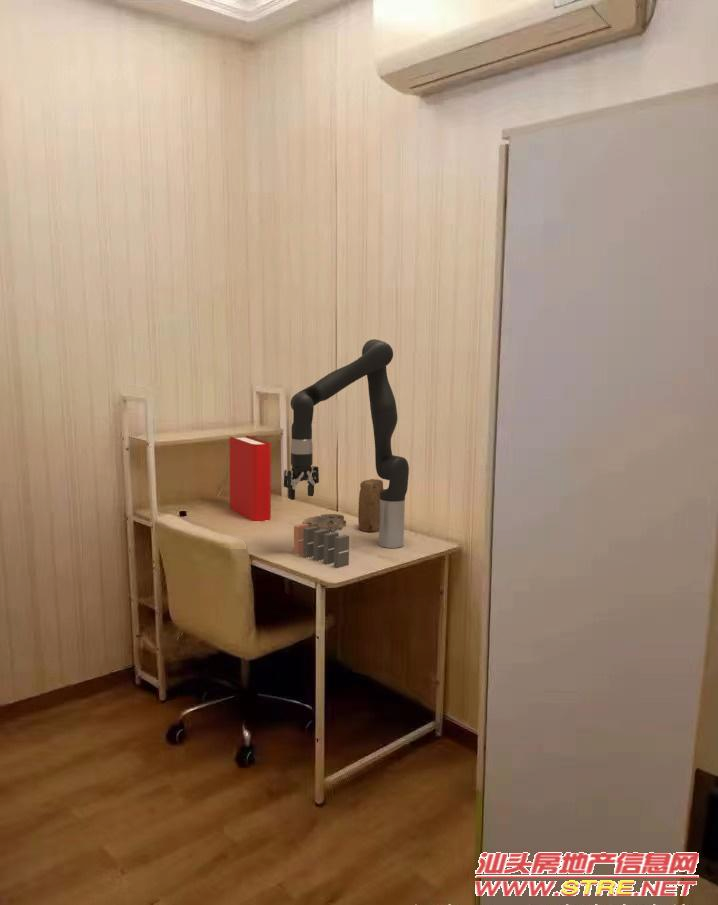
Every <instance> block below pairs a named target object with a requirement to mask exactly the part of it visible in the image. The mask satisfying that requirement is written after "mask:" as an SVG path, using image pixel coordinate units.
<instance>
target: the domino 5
mask: <svg viewBox="0 0 718 905" xmlns="http://www.w3.org/2000/svg"><path fill="white" fill-rule="evenodd" d="M349 560H350V535H349V534H342V535H339V536H337V537H334V563H333V567H335V568H339V567H340V568H342V567H345V566H346V567H347V566H349V565H350V564H349V563H350V561H349Z"/></svg>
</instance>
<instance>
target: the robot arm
mask: <svg viewBox="0 0 718 905" xmlns="http://www.w3.org/2000/svg"><path fill="white" fill-rule="evenodd" d="M393 350H394V349H393V347H391V345H390V344H389V343H387V342H386V341H383V340H379V339H369V340H367V341H366V342H365V343H364V345H363V347H362V350H361V356H360V357H358V358H357V359H355V360H353V361H352V362H350V363H349V364H347V365H344V366H342V367H340V368H337V369H335V370H334V371H331V372H330V373H328V374H326V375H325V376H324V377H321V378H320V379H319V380H318V381H316V382H314V384H312V385H310V386H308V387H305V388H304V389H302V390H300V391H299V392H298V391H297V393H295V394H294V395H293V396H292V397H291V400H290V407H291V410H292V412H293V414H292V416H293V418H292V420H293V422H292V424H291V439H290V440H291V441H290V465H291V470H287V469H284V470H283V472H284V473H283V487H284V488H286V489H288V498H289V500H291V501H293V500H296V487H297V485H298V484H300V482H303V481H306V484H308V485H307V496H308V497H313V496H314V495H315V485H316V484H319V482H320V474H319V466H316V465H313V460H314V459H313V458H314V457H313V450H314V449H313V448H314V445H313V419H314V409H315V408H314V406H316V405H317V404H319V403H320V402H324V401H327V400H328V399H330V398H332V397H333V396H335V395H336V394H338V393H339V392H341V391H342V390H344V389H345V388H347V387H348V386H350V385H351V384H354V383H355V382H357V381H358V380H360V379H361V378H364V377H366V378H367V390H368V398H369V405H370V406H369V408H370V415H371V416H370V417H371V422H372V429H373V430H372V431H373V438H374V456H375V458H374V460H375V470H376V473H377V476H378V477H379V478H380V479H381V480H382V479H383V480H386V481H388V482H389V483H388V487H387V488H386V489H384V488H383V489H384V490H382V491H381V492H380V512H379V531H378V546H380V547H383V548H387V549H397V548H402V547H404V546H405V544H404V543H405V542H404V540H405V510H406V507H405V506H406V495H407V491H408V489H409V488H408V487H409V486H408V485H409V475H410V474H409V473H410V469H409V468H410V466H409V463H408V460H407V459H406V458H405V457H403V456H399V455H393V451H392V437H393V434H394V432H395V430H396V427H397V424H398V410H397V409H398V408H397V404H396V399H395V395H394V393H393V390H392V388H391V384H390V382H389V378H388V373H387V366H388V365H389V364H390V363H391V362H392V360H393V358H394V351H393Z"/></svg>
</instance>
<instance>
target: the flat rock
mask: <svg viewBox="0 0 718 905" xmlns="http://www.w3.org/2000/svg"><path fill="white" fill-rule="evenodd" d="M301 524H308V527H313V526H316V527H318V530H322V529H327V530H328V533H330V532H337V531H338V529H339V530H342V529H343V528H344V527H345V526H346V525H347V521H346V520H345V516H344V515H342V514H338V513H325V514H321V515H316V516H310V517H308V518H305V519H304V520H303V521H302V523H301ZM343 526H344V527H343Z"/></svg>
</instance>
